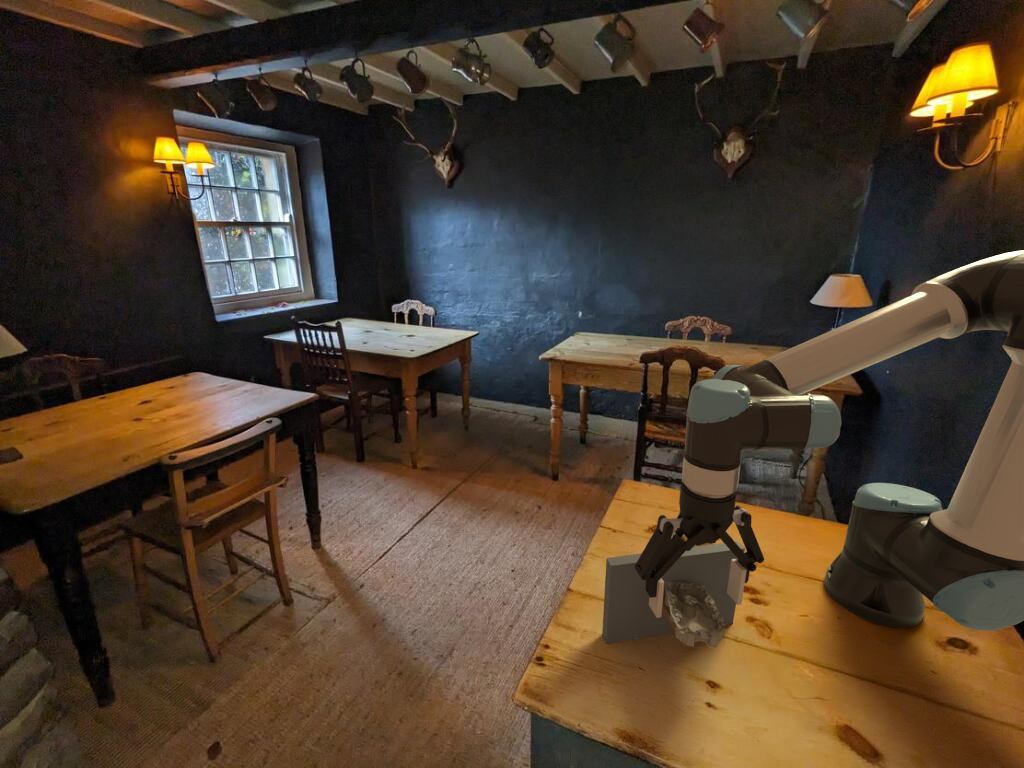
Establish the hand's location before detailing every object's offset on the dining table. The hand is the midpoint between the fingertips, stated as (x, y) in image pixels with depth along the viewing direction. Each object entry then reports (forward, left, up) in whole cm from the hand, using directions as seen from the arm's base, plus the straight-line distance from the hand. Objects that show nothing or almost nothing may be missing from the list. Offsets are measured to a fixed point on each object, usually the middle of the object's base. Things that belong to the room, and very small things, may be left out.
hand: (695, 604), depth 73 cm
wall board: (0, -2, -11) cm, 11 cm away
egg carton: (+1, 0, -3) cm, 3 cm away
